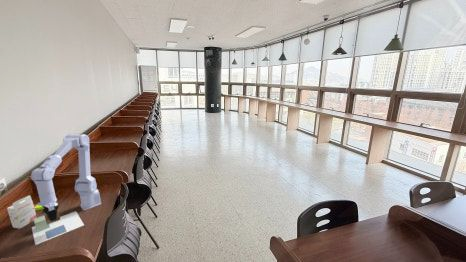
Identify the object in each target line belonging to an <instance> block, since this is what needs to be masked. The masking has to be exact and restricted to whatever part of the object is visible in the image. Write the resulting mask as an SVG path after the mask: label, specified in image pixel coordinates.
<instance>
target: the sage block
mask: <svg viewBox="0 0 466 262" xmlns="http://www.w3.org/2000/svg"><path fill="white" fill-rule="evenodd" d="M33 222H34V226H36V230H37V232H39V231H41V230H44V229H47V228H49V227H50V225H49V224H48V225H47V223H46V220H45V216H44V215H41V216H37V218H35V219H34V221H33Z"/></svg>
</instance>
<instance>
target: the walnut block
mask: <svg viewBox="0 0 466 262" xmlns="http://www.w3.org/2000/svg"><path fill="white" fill-rule="evenodd" d="M43 214H44V215H43V216H45V220H46V223H47V225H48V224H50V223H53V222H56V221H58V220H60V217H61V216H60V213H59V209H58V210H57V218H56V220H54V221H50V219H49V217H48V216H47V214H46V213H44V212H43Z"/></svg>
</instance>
